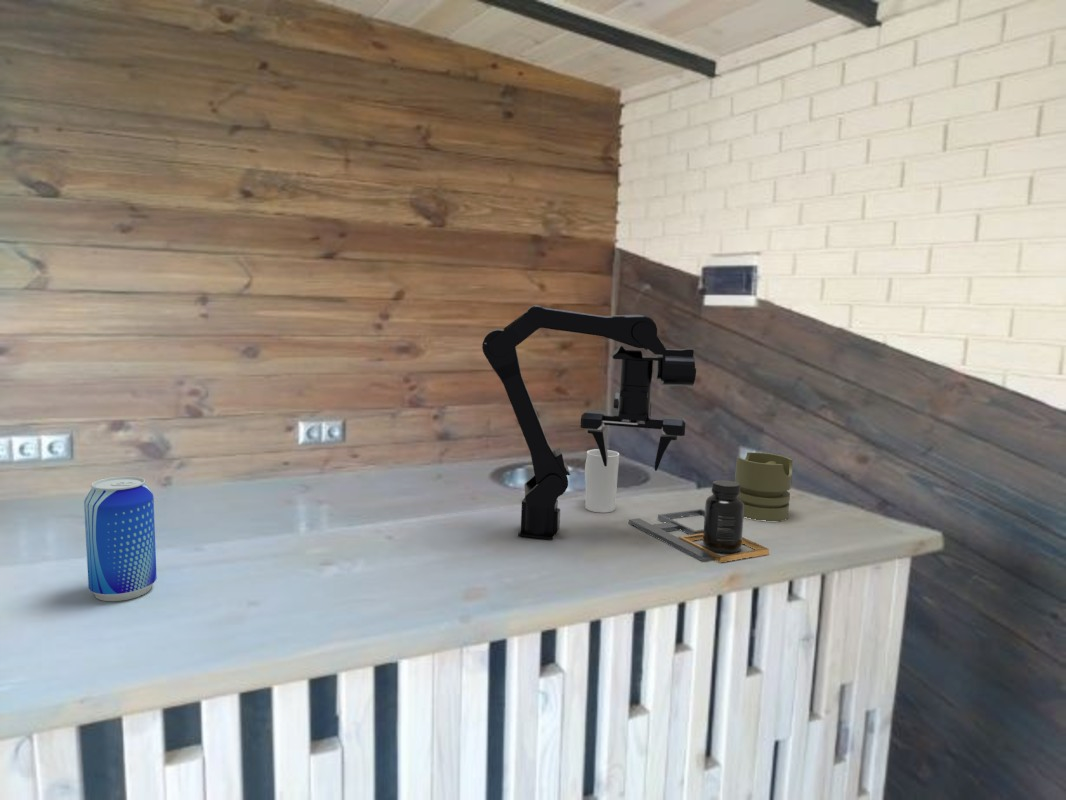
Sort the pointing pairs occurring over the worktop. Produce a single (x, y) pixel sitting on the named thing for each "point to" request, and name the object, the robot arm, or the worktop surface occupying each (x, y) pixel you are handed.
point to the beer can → (120, 538)
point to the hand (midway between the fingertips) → (630, 468)
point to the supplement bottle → (723, 518)
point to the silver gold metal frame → (692, 538)
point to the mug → (601, 481)
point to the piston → (764, 485)
